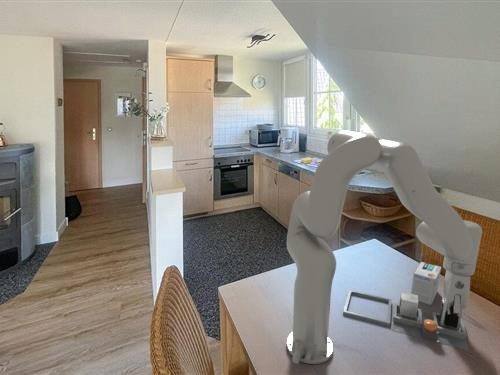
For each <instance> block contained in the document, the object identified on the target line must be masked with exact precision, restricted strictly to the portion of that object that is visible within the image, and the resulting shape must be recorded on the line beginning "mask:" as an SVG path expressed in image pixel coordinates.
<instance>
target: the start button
mask: <svg viewBox="0 0 500 375" xmlns="http://www.w3.org/2000/svg"><path fill="white" fill-rule="evenodd" d="M424 328H425V329H426V330H428V331H431V332H435V331H436V329H437V323H436V322H434V321H433V320H429V319H426V320H425V321H424Z"/></svg>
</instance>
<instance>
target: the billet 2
mask: <svg viewBox="0 0 500 375" xmlns="http://www.w3.org/2000/svg"><path fill="white" fill-rule="evenodd" d="M452 303H453V304H454V302H452ZM447 309H448V304H447V303H446V299H445V295H443V296H442V298H441V304H440V309H439V314H440V315H439V319H440V324H441V325H442V326H446V325H444V320H445V314H446V312H447ZM451 309H453V307H452V306H451ZM451 309H450V310H451ZM463 309H464V308H462V305H461V304H460V313H459V320H458V325H457V328H454V327H450V326H446V327H450V328H454V329H458V330H459V326H460V321H461V319H462V315H463Z"/></svg>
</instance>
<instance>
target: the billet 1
mask: <svg viewBox="0 0 500 375" xmlns="http://www.w3.org/2000/svg"><path fill="white" fill-rule="evenodd" d="M399 304H400V305H399V317H402V318H406V319H410V320H414V321H416V316H417V309H419V308H418V307H419V301H418V295H414V294H411V293H408V292H404V291H401V295H400V299H399Z"/></svg>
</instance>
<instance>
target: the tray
mask: <svg viewBox="0 0 500 375" xmlns="http://www.w3.org/2000/svg"><path fill="white" fill-rule="evenodd" d="M352 295H354V296H359V297H362V298H367V299H371V300H376V301H380V302H384V303H388V307H387V319H386V320H384V319H379V318H376V317H372V316H368V315H364V314H362V313H361V314H360V313H356V312H352V311H348V309H349V308H348V307H349V303H350V301H351V298H352ZM392 300H393V299H392V298H388V297H383V296H381V295H375V294H371V293H366V292H362V291H357V290H352V289H349V290H348V294H347V297H346V300H345V304H344V307H343V311H342V315H344V316H349V317H351V318H355V319H360V320H362V321H367V322H370V323H371V322H372V323H375V324H378V325H382V326H386V327H391V319H392V318H391V316H392Z"/></svg>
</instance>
